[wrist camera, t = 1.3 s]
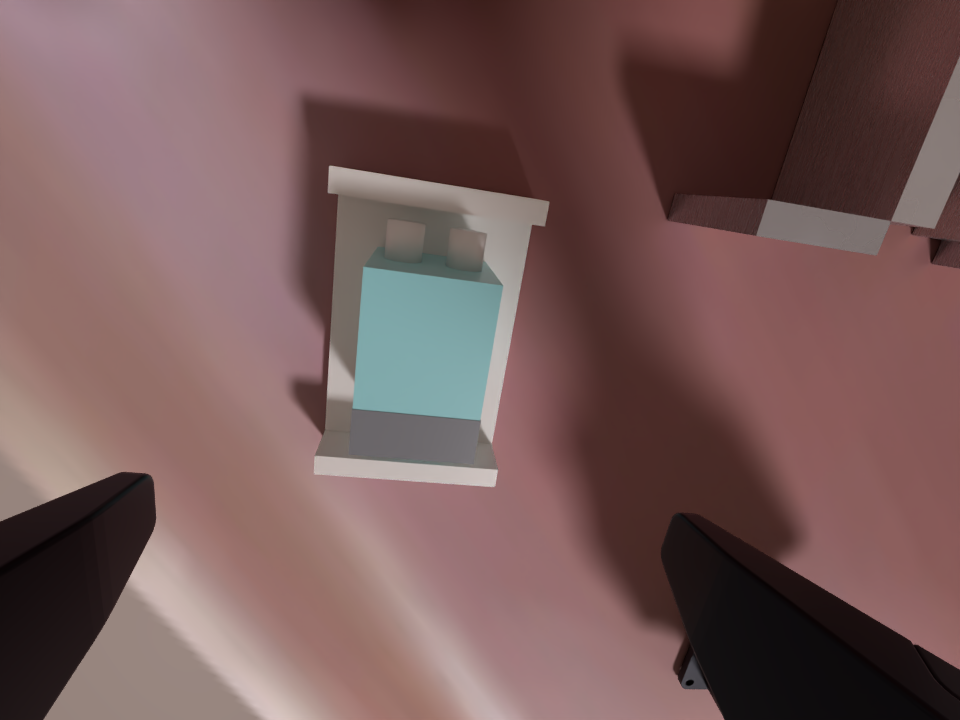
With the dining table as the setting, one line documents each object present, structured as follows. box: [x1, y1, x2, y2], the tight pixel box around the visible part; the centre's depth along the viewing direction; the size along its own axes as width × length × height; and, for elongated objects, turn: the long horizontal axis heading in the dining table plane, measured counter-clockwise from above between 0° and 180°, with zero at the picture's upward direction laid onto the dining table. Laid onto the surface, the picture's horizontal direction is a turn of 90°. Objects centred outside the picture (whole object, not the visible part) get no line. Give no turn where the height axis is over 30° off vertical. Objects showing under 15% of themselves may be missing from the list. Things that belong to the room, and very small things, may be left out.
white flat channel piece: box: [314, 166, 549, 487], centre depth 18 cm, size 11×7×2 cm, turn 171°
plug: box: [348, 219, 503, 464], centre depth 17 cm, size 7×4×4 cm, turn 171°
